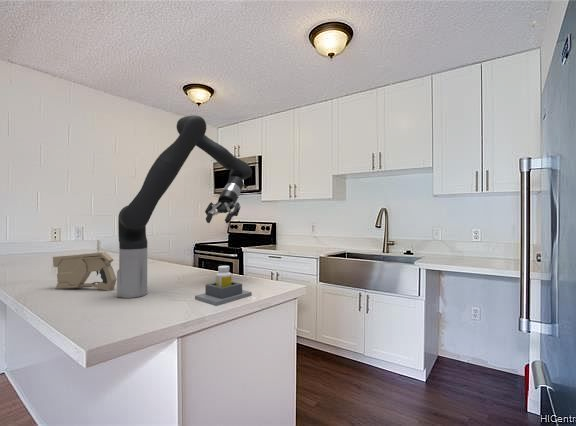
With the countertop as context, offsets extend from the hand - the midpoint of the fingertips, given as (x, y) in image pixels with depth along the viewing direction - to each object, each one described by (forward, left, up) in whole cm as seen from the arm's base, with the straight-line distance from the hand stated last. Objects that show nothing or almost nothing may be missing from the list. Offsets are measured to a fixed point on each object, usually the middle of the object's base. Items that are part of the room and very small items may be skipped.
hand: (216, 221), depth 122 cm
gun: (-51, +5, -27) cm, 58 cm away
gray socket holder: (+4, -15, -27) cm, 31 cm away
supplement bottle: (+3, -15, -26) cm, 30 cm away
